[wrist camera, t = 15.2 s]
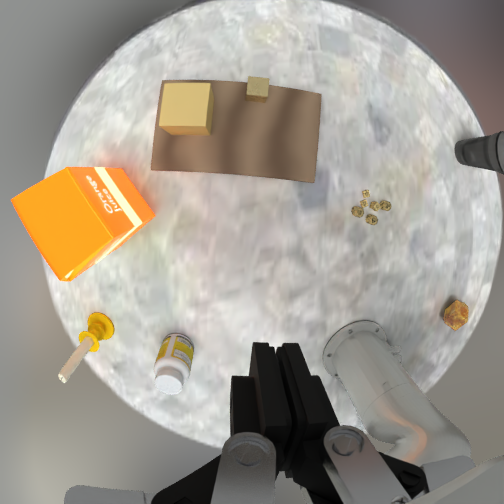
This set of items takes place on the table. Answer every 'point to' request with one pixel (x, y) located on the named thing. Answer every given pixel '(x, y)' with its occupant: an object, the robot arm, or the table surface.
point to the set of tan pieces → (374, 205)
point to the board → (247, 135)
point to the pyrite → (456, 315)
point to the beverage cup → (482, 152)
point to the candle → (88, 342)
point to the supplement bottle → (173, 364)
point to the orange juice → (81, 216)
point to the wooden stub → (257, 89)
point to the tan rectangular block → (187, 108)
